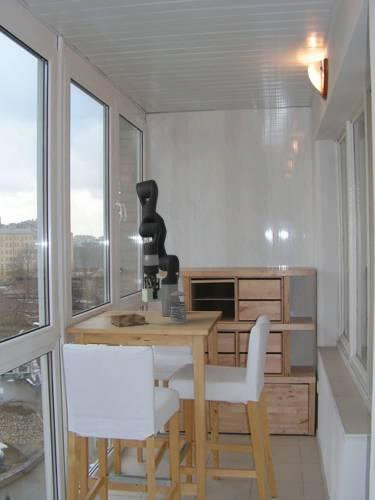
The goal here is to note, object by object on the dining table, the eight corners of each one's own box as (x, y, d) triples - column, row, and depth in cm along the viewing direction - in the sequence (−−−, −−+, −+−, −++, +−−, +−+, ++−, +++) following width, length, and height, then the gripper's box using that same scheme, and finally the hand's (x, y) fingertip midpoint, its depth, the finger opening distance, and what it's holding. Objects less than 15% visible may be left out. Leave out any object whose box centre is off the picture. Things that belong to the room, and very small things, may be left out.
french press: (186, 323, 272) (185, 273, 272) (163, 323, 274) (162, 273, 274) (190, 320, 282) (188, 271, 281) (168, 319, 284) (166, 271, 283)
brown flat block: (135, 321, 282) (135, 313, 282) (145, 324, 271) (144, 316, 271) (111, 323, 276) (110, 315, 276) (119, 327, 265) (119, 318, 265)
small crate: (157, 299, 271) (157, 287, 270) (162, 300, 265) (162, 288, 265) (142, 301, 267) (142, 288, 267) (147, 302, 262) (146, 289, 261)
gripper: (164, 264, 261) (165, 299, 262) (152, 263, 274) (153, 296, 274) (149, 265, 257) (151, 300, 258) (138, 264, 270) (139, 297, 271)
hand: (152, 298), depth 266 cm, fingers closed on small crate, 6 cm apart
